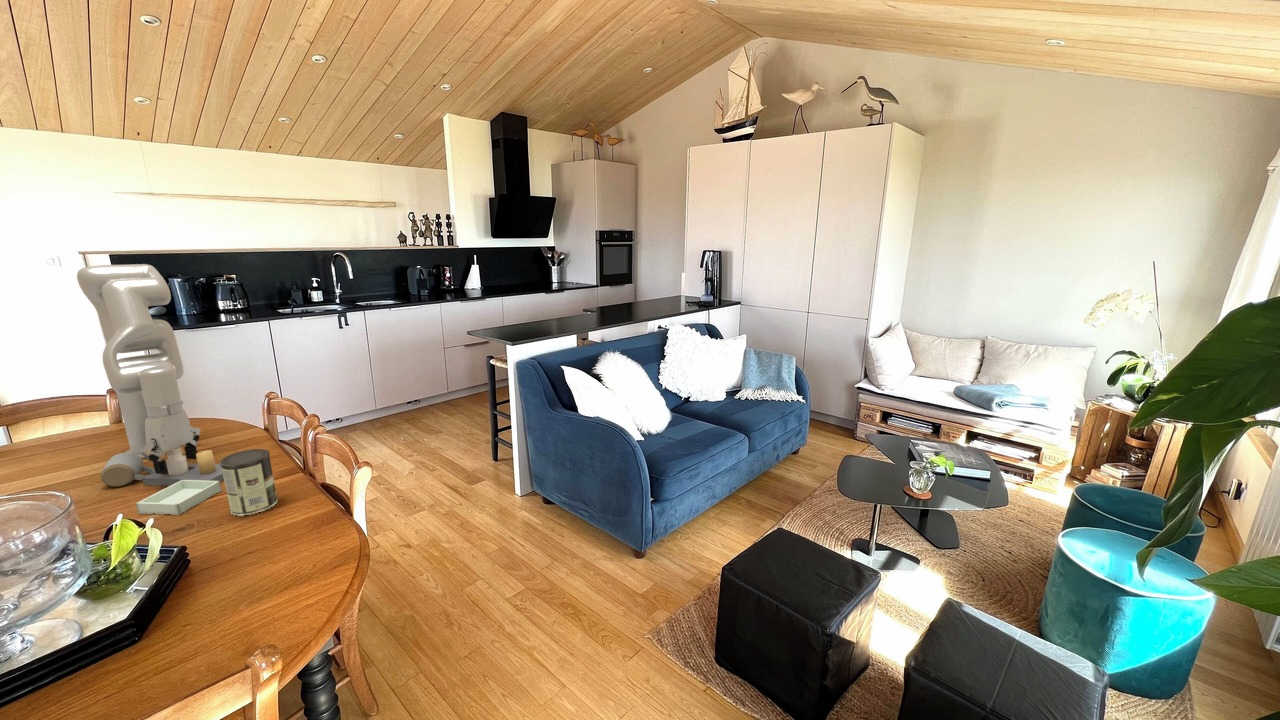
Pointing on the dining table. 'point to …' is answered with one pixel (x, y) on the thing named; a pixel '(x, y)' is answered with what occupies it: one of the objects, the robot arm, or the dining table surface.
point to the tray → (178, 497)
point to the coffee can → (249, 481)
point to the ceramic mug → (123, 470)
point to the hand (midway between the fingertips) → (177, 465)
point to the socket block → (190, 472)
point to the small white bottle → (176, 462)
